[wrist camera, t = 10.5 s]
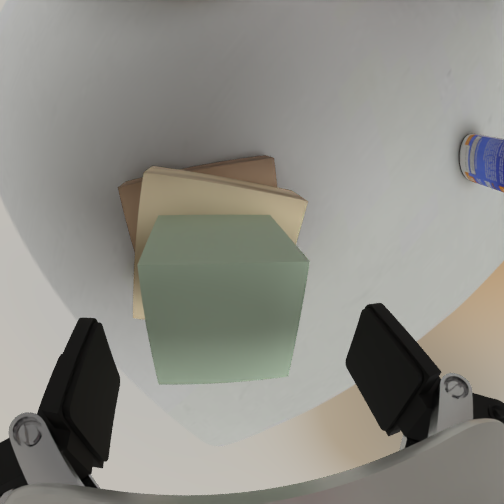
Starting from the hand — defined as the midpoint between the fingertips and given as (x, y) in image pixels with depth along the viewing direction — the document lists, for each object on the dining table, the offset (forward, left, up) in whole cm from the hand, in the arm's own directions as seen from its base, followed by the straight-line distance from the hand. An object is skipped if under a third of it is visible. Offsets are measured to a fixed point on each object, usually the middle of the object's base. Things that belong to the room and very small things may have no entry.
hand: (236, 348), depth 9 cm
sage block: (0, 0, -7) cm, 7 cm away
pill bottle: (-9, +27, -13) cm, 31 cm away
